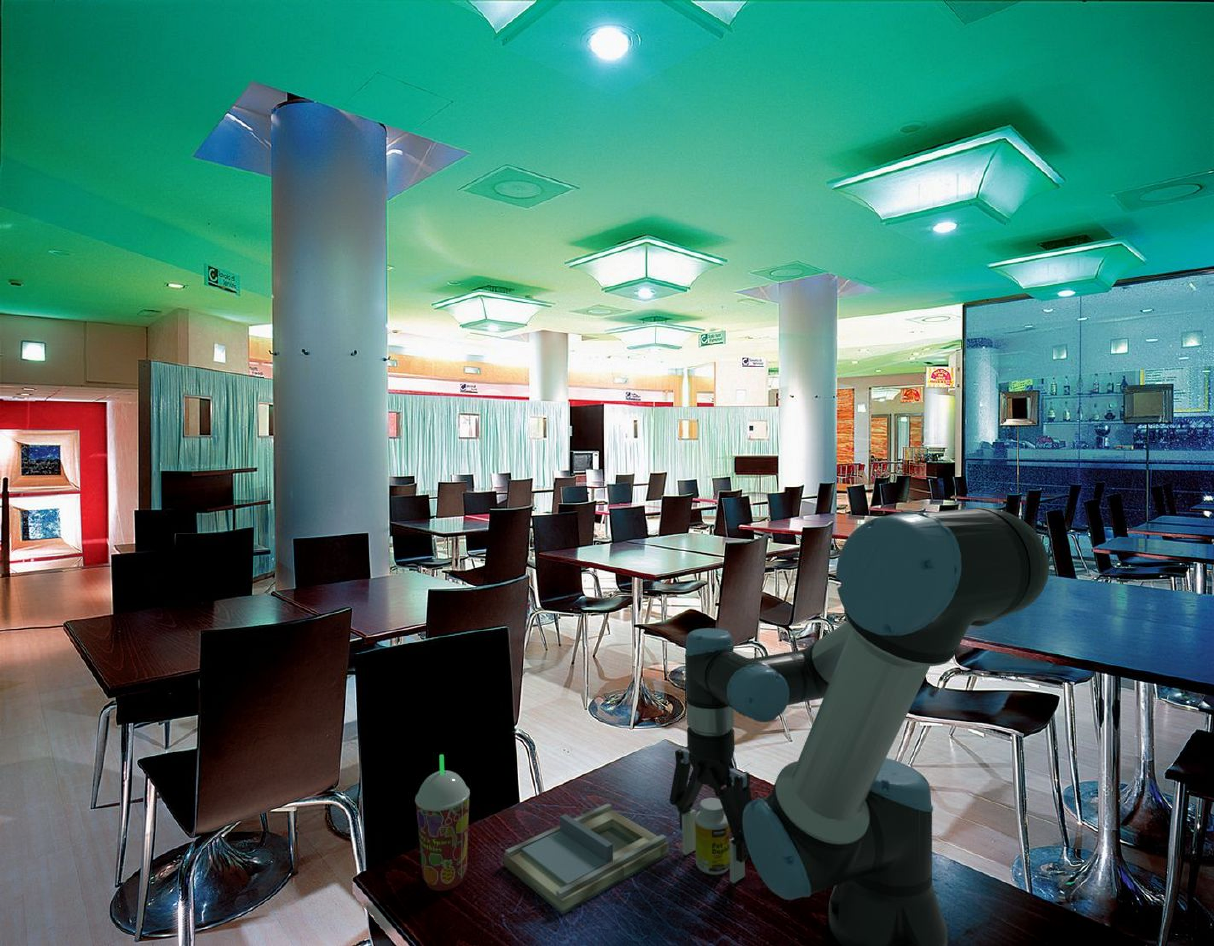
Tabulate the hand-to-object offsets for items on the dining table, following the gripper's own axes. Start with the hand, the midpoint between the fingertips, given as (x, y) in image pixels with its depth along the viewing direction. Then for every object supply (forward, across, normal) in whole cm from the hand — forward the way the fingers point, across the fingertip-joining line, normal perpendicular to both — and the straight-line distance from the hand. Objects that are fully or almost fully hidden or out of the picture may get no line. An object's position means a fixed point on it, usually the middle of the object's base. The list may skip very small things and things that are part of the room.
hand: (712, 864), depth 110 cm
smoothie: (0, +26, +34) cm, 43 cm away
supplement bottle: (0, 0, 0) cm, 0 cm away
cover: (-2, +15, +18) cm, 24 cm away
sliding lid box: (0, +15, +14) cm, 20 cm away
